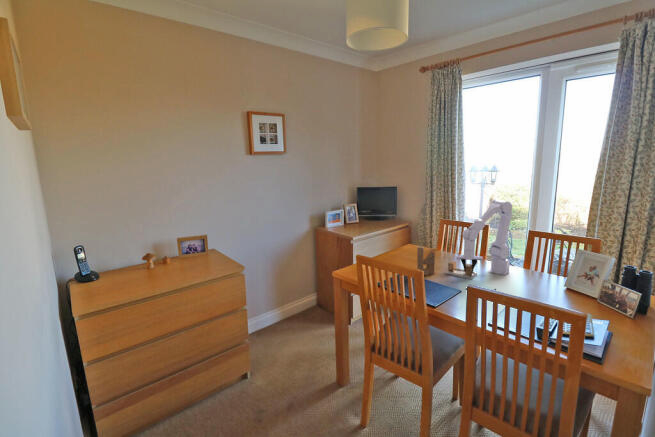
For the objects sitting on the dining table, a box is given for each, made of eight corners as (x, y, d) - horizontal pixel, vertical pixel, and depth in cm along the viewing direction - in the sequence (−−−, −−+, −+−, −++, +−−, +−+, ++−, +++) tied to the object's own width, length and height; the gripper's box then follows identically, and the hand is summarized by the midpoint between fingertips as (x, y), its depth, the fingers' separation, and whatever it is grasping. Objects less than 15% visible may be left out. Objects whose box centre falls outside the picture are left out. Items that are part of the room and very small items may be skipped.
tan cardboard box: (470, 272, 186) (471, 264, 185) (471, 275, 182) (472, 266, 180) (464, 272, 187) (465, 263, 186) (465, 275, 183) (465, 266, 182)
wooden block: (434, 274, 189) (434, 246, 186) (419, 276, 186) (419, 248, 183) (430, 272, 193) (431, 244, 189) (415, 274, 190) (415, 247, 186)
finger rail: (476, 275, 184) (477, 264, 183) (471, 279, 179) (472, 269, 177) (452, 269, 195) (452, 259, 193) (446, 273, 189) (446, 263, 188)
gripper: (481, 247, 182) (480, 269, 185) (455, 246, 187) (454, 268, 189) (483, 251, 175) (482, 273, 178) (456, 250, 180) (455, 272, 183)
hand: (468, 271), depth 183 cm, fingers open, 3 cm apart
